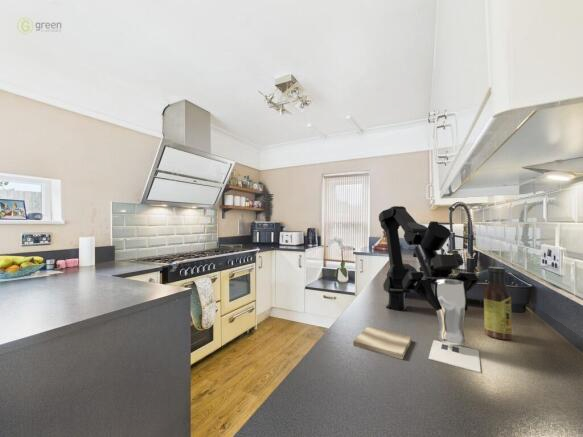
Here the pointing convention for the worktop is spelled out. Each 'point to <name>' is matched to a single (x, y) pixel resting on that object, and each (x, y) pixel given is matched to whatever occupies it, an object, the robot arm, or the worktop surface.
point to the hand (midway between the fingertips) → (452, 310)
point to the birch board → (383, 342)
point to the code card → (455, 356)
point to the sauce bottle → (497, 305)
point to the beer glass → (450, 310)
